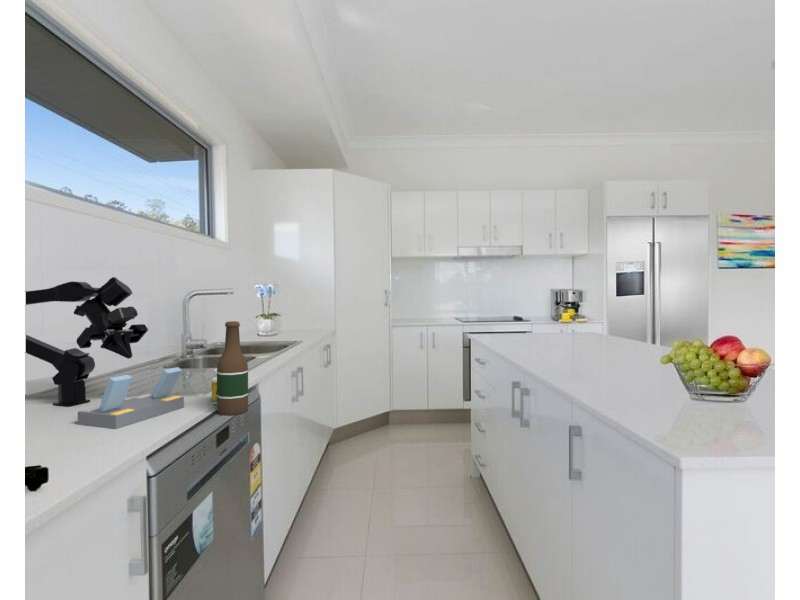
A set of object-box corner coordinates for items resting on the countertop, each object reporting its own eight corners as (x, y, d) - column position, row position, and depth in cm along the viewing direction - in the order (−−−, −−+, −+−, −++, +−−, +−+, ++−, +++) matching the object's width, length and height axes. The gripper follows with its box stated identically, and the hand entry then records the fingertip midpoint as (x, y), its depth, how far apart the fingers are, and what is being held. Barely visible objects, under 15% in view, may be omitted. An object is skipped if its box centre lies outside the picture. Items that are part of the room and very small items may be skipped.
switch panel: (77, 424, 111) (77, 411, 111) (149, 404, 131) (149, 393, 131) (115, 428, 107) (115, 415, 107) (183, 407, 127) (183, 396, 127)
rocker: (150, 396, 124) (163, 369, 122) (165, 392, 129) (178, 367, 127) (154, 399, 124) (167, 373, 122) (168, 395, 128) (182, 370, 127)
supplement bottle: (229, 399, 137) (229, 367, 137) (233, 403, 132) (233, 369, 132) (209, 402, 134) (209, 369, 134) (213, 405, 129) (213, 371, 129)
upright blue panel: (98, 410, 110) (109, 378, 108) (117, 405, 114) (128, 374, 113) (102, 413, 109) (114, 381, 108) (121, 408, 114) (132, 377, 113)
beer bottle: (230, 417, 117) (229, 323, 117) (210, 413, 121) (210, 321, 121) (254, 411, 124) (254, 321, 123) (235, 407, 128) (235, 320, 127)
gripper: (85, 296, 122) (117, 340, 119) (143, 297, 140) (172, 335, 136) (62, 325, 124) (93, 369, 121) (122, 322, 142) (151, 360, 139)
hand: (130, 357), depth 129 cm, fingers closed
